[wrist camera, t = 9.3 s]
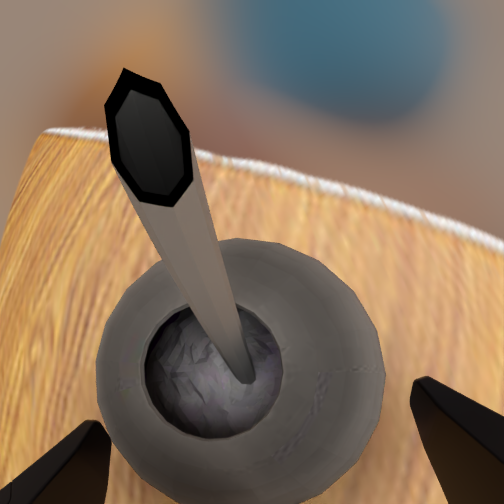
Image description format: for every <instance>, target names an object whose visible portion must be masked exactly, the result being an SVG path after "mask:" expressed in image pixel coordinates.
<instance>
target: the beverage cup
mask: <svg viewBox="0 0 504 504" xmlns="http://www.w3.org/2000/svg"><path fill="white" fill-rule="evenodd" d="M104 108H105V114H106V123H107V130H108V138H109V146H110V155H111V162H112V165H113V167H114V169H115V171H116V173H117V175H118V177H119V179H120V181H121V183H122V185H123V187H124V189H125V191H126V193H127V195H128V197H129V199H130V201H131V203H132V205H133V207H134V209H135V210H136V212H137V214H138V216H139V218H140V220H141V222H142V224H143V226H144V227H145V229H146V231H147V233H148V235H149V237H150V239H151V240H152V242H153V244H154V246H155V248H156V249H157V251H158V253H159V255H160V257H161V258H162V260H161V261H159V262H157V263H155V264H154V265H153V266H152V267H151V268H150V269H149V270H148V271H146V272H145V273H144V274H143V275H142V276H141V277H140V278H139V279H137V280H136V281H135V282H134V283H133V284H132V285H131V286H130V287H129V288H127V289H126V291H125V293H124V294H123V296H122V297H121V299H120V301H119V302H118V304H117V305H116V307H115V309H114V310H113V312H112V314H111V315H110V317H109V319H108V320H107V322H106V324H105V328H104V331H103V335H102V339H101V343H100V346H99V350H98V354H97V358H96V385H97V402H98V405H99V408H100V411H101V414H102V417H103V419H104V422H105V425H106V427H107V430H108V433H109V435H110V438H111V440H112V442H113V443H114V445H115V446H116V447H117V449H118V450H119V451H120V453H121V454H122V455H123V457H124V458H125V459H126V460H127V462H128V463H129V464H130V465H131V467H132V468H133V469H134V470H135V472H136V473H137V474H138V475H139V476H140V477H141V478H142V479H143V480H144V481H146V482H147V483H149V484H150V485H152V486H153V487H155V488H156V489H157V490H159V491H160V492H162V493H164V494H165V495H167V496H168V497H170V498H171V499H173V500H175V501H176V502H178V503H179V504H299V503H302V502H304V501H306V500H308V499H311V498H313V497H315V496H317V495H320V494H322V493H323V492H324V491H325V490H326V489H328V488H329V487H330V486H331V485H332V484H333V483H334V482H336V481H337V480H338V479H339V478H340V477H341V476H342V475H343V474H344V473H345V472H347V471H348V470H349V469H350V468H351V467H352V466H353V465H354V464H355V463H356V462H357V461H358V459H359V457H360V455H361V454H362V452H363V450H364V448H365V446H366V445H367V443H368V441H369V439H370V437H371V435H372V433H373V431H374V429H375V428H376V426H377V424H378V422H379V418H380V412H381V406H382V399H383V392H384V385H385V377H386V373H385V368H384V362H383V357H382V352H381V347H380V342H379V338H378V333H377V330H376V328H375V326H374V324H373V323H372V321H371V319H370V318H369V316H368V314H367V312H366V311H365V309H364V307H363V306H362V304H361V302H360V301H359V299H358V297H357V296H356V294H355V292H354V291H353V290H352V289H351V288H350V287H349V286H347V285H346V284H345V283H344V282H343V281H342V280H341V279H339V278H338V277H337V276H336V275H335V274H334V273H333V272H331V271H330V270H329V269H328V268H327V267H326V266H325V265H323V264H322V263H321V262H320V261H319V260H316V259H314V258H312V257H310V256H307V255H305V254H303V253H301V252H298V251H296V250H294V249H292V248H289V247H287V246H285V245H282V244H280V243H274V242H266V241H258V240H250V239H241V238H234V239H228V240H222V241H218V240H217V236H216V233H215V229H214V225H213V221H212V218H211V214H210V210H209V206H208V203H207V199H206V195H205V191H204V187H203V183H202V179H201V176H200V172H199V168H198V164H197V160H196V156H195V152H194V148H193V144H192V140H191V136H190V132H189V130H188V128H187V127H186V125H185V124H184V122H183V120H182V119H181V117H180V116H179V114H178V113H177V111H176V109H175V108H174V106H173V104H172V102H171V101H170V99H169V97H168V96H167V94H166V92H165V90H164V89H163V87H162V85H161V84H160V83H158V82H155V81H153V80H150V79H147V78H145V77H142V76H140V75H138V74H136V73H133V72H131V71H129V70H127V69H125V68H123V70H122V73H121V75H120V77H119V79H118V81H117V83H116V85H115V87H114V89H113V91H112V93H111V94H110V96H109V98H108V100H107V101H106V103H105V105H104Z"/></svg>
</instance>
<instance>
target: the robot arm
mask: <svg viewBox="0 0 504 504" xmlns="http://www.w3.org/2000/svg"><path fill="white" fill-rule="evenodd" d="M410 407H411V410H412V413H413V416H414V419H415V422H416V425H417V428H418V431H419V434H420V437H421V440H422V443H423V446H424V449H425V451H426V454H427V456H428V458H429V460H430V462H431V465H432V467H433V469H434V471H435V474H436V476H437V478H438V480H439V483H440V485H441V487H442V490H443V492H444V494H445V497H446V499H447V501H448V504H504V416H502V415H500V414H498V413H496V412H494V411H493V410H491V409H489V408H487V407H485V406H483V405H481V404H479V403H477V402H476V401H474V400H472V399H470V398H468V397H466V396H464V395H462V394H461V393H459V392H457V391H455V390H453V389H451V388H450V387H448V386H446V385H444V384H442V383H440V382H438V381H437V380H435V379H433V378H431V377H429V376H424V377H421V378H418V379H415V380H414V382H413V385H412V390H411V395H410ZM111 445H112V443H111V438H110V436H109V435H108V433H107V432H106V430H105V429H104V427H103V426H102V424H101V423H100V422H99V421H97V420H85V421H84V422H83V423H82V424H80V425H79V426H78V427H77V428H76V429H74V430H73V431H72V432H71V433H70V434H68V435H67V436H66V437H65V438H64V439H62V440H61V441H60V442H59V443H58V444H56V445H55V446H54V447H53V448H52V449H50V450H49V451H48V452H47V453H46V454H44V455H43V456H42V457H41V458H39V459H38V460H37V461H36V462H35V463H33V464H32V465H31V466H30V467H28V468H27V469H26V470H25V471H24V472H22V473H21V474H20V475H19V476H17V477H16V478H15V479H14V480H13V481H12V482H10V483H9V484H7V485H6V486H5V487H4V488H2V489H1V490H0V504H104V503H105V497H106V492H107V486H108V478H109V466H110V455H111Z"/></svg>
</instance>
